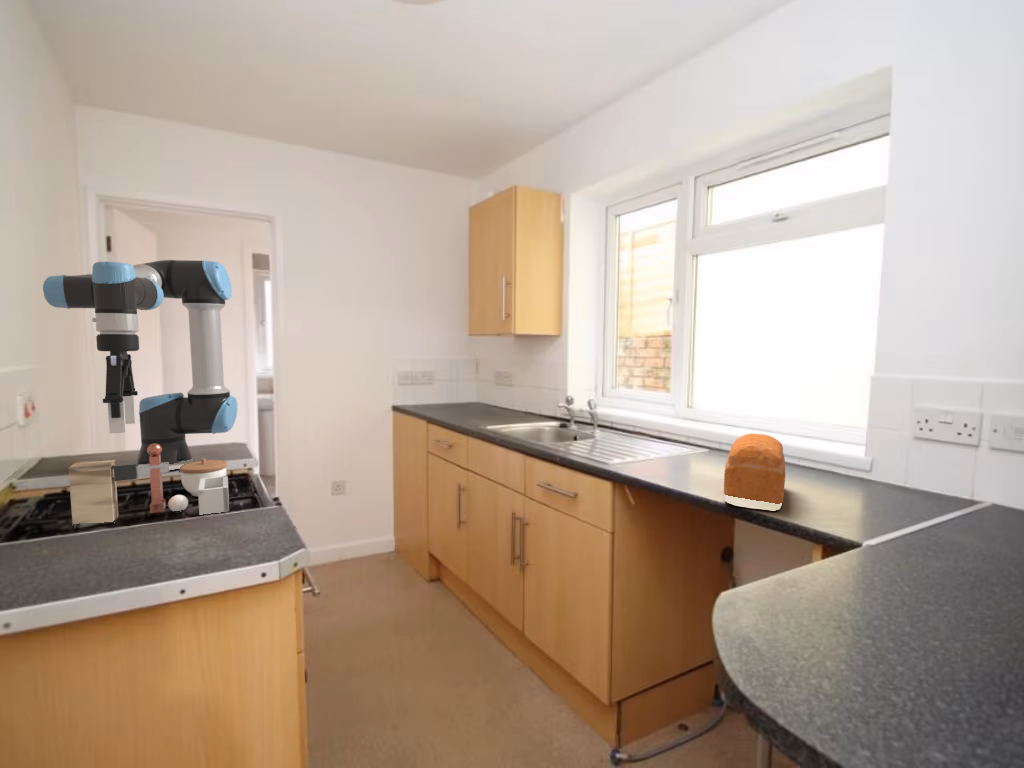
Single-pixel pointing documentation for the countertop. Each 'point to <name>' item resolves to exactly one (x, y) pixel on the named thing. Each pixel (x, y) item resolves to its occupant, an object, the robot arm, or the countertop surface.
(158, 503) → the post with horizontal bar
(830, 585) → the countertop surface
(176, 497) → the white egg
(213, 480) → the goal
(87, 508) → the paper bag
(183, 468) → the lidded jar
